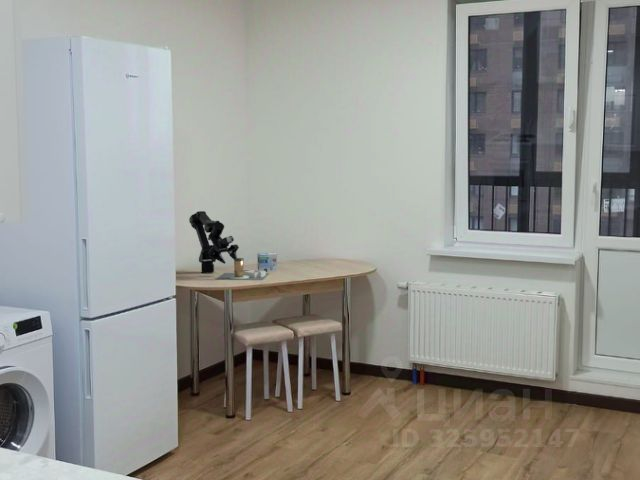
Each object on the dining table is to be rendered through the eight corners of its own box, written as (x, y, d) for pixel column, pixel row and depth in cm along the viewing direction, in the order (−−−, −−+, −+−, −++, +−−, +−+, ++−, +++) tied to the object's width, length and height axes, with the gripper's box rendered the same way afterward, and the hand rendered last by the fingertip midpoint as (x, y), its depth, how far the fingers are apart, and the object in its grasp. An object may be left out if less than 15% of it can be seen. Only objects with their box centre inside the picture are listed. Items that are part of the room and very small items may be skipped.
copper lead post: (233, 277, 420) (233, 259, 419) (235, 275, 425) (235, 257, 424) (242, 277, 419) (242, 259, 418) (244, 276, 424) (244, 257, 423)
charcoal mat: (215, 280, 417) (215, 279, 417) (224, 273, 441) (224, 272, 441) (262, 281, 415) (262, 280, 415) (269, 274, 439) (269, 273, 439)
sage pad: (227, 279, 417) (227, 278, 417) (231, 276, 428) (231, 275, 428) (247, 279, 416) (247, 278, 416) (250, 276, 427) (250, 275, 427)
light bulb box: (259, 273, 444) (259, 254, 443) (257, 271, 451) (257, 253, 449) (277, 272, 447) (277, 253, 446) (275, 270, 453) (275, 252, 452)
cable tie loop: (243, 275, 430) (243, 270, 430) (254, 274, 436) (254, 269, 436) (257, 277, 423) (257, 272, 423) (268, 275, 430) (268, 270, 429)
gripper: (211, 232, 420) (225, 254, 414) (236, 230, 434) (250, 251, 428) (202, 246, 426) (215, 267, 420) (226, 242, 440) (240, 263, 434)
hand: (231, 262), depth 425 cm, fingers open, 9 cm apart
